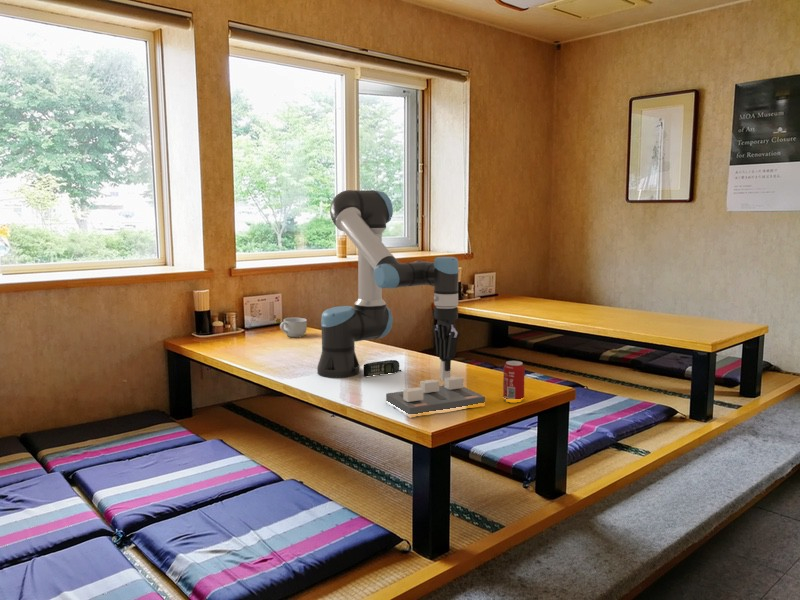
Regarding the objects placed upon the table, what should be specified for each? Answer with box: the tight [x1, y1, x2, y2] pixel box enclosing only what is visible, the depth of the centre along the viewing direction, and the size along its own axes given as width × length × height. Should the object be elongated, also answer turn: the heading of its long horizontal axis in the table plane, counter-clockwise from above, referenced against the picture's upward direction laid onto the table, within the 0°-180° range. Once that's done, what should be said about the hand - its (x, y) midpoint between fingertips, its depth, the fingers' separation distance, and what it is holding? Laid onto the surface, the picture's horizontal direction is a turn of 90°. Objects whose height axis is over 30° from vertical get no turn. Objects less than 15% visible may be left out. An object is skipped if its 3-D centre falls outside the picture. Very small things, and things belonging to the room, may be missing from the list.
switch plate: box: [385, 385, 486, 414], centre depth 194 cm, size 16×25×3 cm, turn 116°
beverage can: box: [502, 360, 526, 399], centre depth 197 cm, size 6×6×12 cm
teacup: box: [279, 317, 308, 338], centre depth 297 cm, size 14×11×8 cm
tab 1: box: [402, 386, 423, 402], centre depth 188 cm, size 3×5×3 cm, turn 116°
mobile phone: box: [362, 359, 402, 377], centre depth 230 cm, size 5×3×15 cm
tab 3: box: [443, 375, 464, 390], centre depth 200 cm, size 3×5×3 cm, turn 116°
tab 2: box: [419, 378, 440, 393], centre depth 197 cm, size 3×5×3 cm, turn 116°
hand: (445, 380), depth 205 cm, fingers closed
